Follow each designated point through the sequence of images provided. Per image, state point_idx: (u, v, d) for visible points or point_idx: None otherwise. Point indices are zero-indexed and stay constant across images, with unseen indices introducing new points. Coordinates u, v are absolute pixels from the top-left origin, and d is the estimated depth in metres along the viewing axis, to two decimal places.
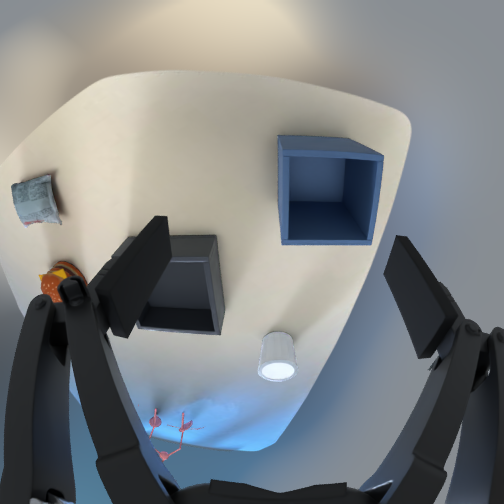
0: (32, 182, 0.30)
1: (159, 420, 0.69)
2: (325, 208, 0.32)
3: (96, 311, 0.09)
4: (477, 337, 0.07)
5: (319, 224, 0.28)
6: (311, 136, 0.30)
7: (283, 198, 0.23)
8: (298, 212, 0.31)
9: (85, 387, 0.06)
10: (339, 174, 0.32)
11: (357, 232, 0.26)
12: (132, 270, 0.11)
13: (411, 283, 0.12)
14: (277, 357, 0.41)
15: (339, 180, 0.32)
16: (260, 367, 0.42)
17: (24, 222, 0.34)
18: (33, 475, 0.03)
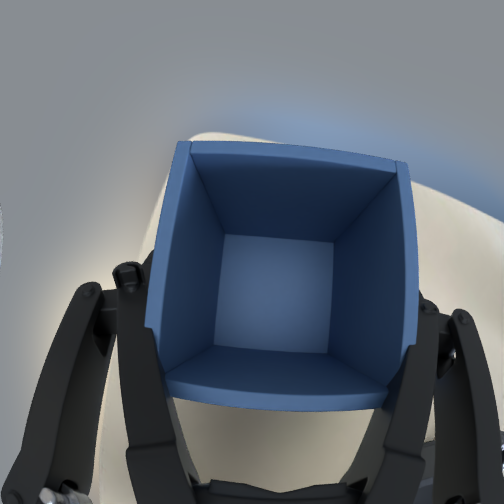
0: None
1: None
2: (342, 275, 0.16)
3: None
4: (434, 316, 0.09)
5: (368, 294, 0.11)
6: None
7: (274, 408, 0.07)
8: (345, 333, 0.14)
9: (128, 375, 0.06)
10: (281, 246, 0.19)
11: (382, 201, 0.10)
12: None
13: None
14: None
15: (293, 247, 0.19)
16: None
17: None
18: (51, 466, 0.03)
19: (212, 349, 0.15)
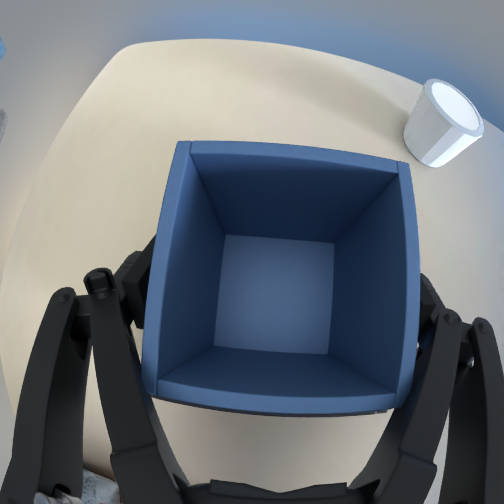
0: None
1: None
2: (342, 276, 0.16)
3: (122, 304, 0.10)
4: (457, 326, 0.08)
5: (369, 295, 0.11)
6: None
7: (274, 410, 0.07)
8: (345, 334, 0.14)
9: (105, 380, 0.06)
10: (282, 247, 0.19)
11: (384, 202, 0.10)
12: None
13: None
14: (425, 100, 0.16)
15: (293, 248, 0.19)
16: (456, 126, 0.15)
17: None
18: (41, 470, 0.03)
19: (212, 350, 0.15)
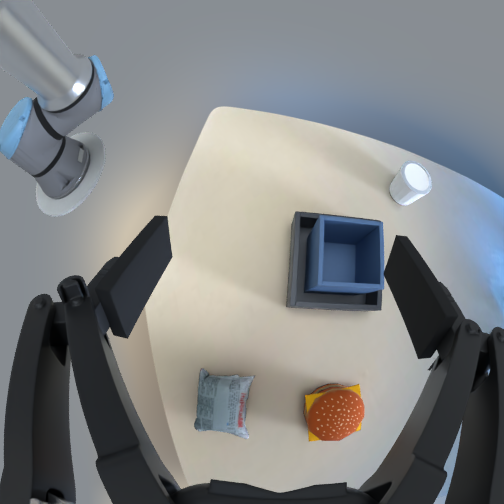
0: (199, 388, 0.37)
1: None
2: (360, 257, 0.41)
3: (96, 311, 0.09)
4: (477, 337, 0.07)
5: (370, 261, 0.36)
6: (305, 267, 0.43)
7: (351, 286, 0.32)
8: (362, 278, 0.38)
9: (85, 387, 0.06)
10: (334, 246, 0.44)
11: (375, 233, 0.35)
12: (132, 270, 0.11)
13: (411, 283, 0.12)
14: (400, 176, 0.41)
15: (339, 247, 0.44)
16: (414, 190, 0.40)
17: (238, 425, 0.35)
18: (33, 475, 0.03)
19: None
